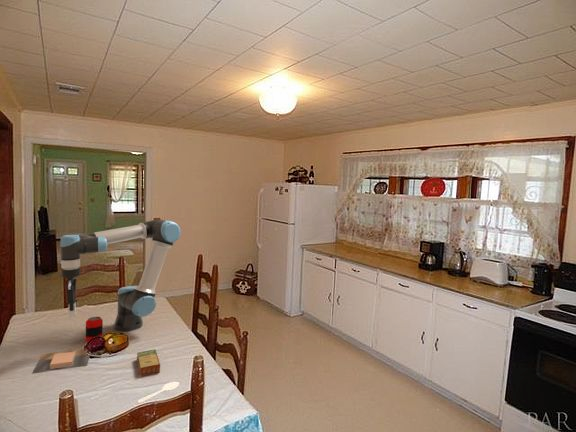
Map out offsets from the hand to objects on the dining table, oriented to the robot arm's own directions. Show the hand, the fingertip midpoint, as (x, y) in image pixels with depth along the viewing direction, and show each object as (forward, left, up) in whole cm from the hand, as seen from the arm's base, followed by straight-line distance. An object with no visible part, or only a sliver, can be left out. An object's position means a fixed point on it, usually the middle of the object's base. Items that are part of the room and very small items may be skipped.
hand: (72, 316), depth 162 cm
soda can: (-8, -10, -18) cm, 22 cm away
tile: (+2, +7, -15) cm, 17 cm away
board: (+2, +10, -18) cm, 20 cm away
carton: (-33, +25, -18) cm, 45 cm away
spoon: (-36, +48, -18) cm, 63 cm away
